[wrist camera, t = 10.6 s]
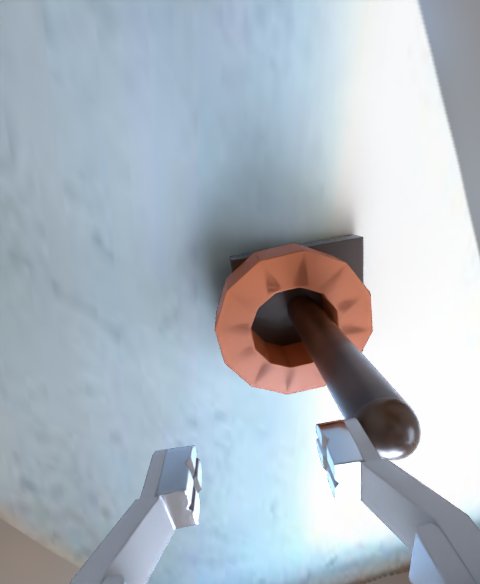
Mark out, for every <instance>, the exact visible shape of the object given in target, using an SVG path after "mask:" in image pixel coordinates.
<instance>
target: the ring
mask: <svg viewBox="0 0 480 584" xmlns="http://www.w3.org/2000/svg"><path fill="white" fill-rule="evenodd" d="M299 287H301V288H304V289H308V290H311V291H315V292H318V293H320V294H321V295H322V303H323V311H324V312H325V313H326V314H327V315H328V316H329V317H330V318H331V319H332V321H333V322H334V323H335V324H336V325H337V326H338V327H339V328H340V329H341V331H342V332H343V333H344V334H345V335H346V336H347V337H348V338H349V339H350V341H351V342H352V343H353V344H354V345H355V346H356V347H357V348H358V349H359V351H360V352H362V350H363V348H364V346H365V344H366V342H367V341H368V339H369V337H370V335H371V333H372V311H371V294H370V292H369V290H368V289H367V288H366V287H365V285H364V284H363V283H362V282H361V280H360V279H359V278H358V276H357V275H356V274H355V273H354V271H353V270H352V269H351V268H350V266H349V265H348V264H347V263H346V262H344V261H342V260H340V259H338V258H336V257H334V256H332V255H330V254H328V253H325V252H321V251H318V250H315V249H312V248H309V247H305V246H302V245H299V244H296V243H290V244H286V245H282V246H278V247H273V248H269V249H265V250H261V251H257V252H254V253H253V254H252V255H251V256H250V257H249V258H248V259H247V260H245V261H244V262H243V263H242V264H241V265H240V266H239V267H238V268H237V269H236V270H235V271H234V272H232V273H231V274H230V275H229V276H228V277H227V279H226V281H225V284H224V288H223V291H222V294H221V298H220V301H219V304H218V308H217V312H216V321H215V332H216V336H217V339H218V342H219V346H220V349H221V352H222V356H223V359H224V362H225V364H226V365H227V366H228V367H229V368H231V369H232V370H233V371H234V372H235V373H236V374H238V375H239V376H240V377H241V378H242V379H243V380H245V381H246V382H247V383H248V384H249V385H250V386H252V387H256V388H260V389H265V390H269V391H274V392H279V393H283V394H291V393H296V392H301V391H305V390H310V389H314V388H319V387H323V386H325V385H326V383H325V381H324V380H323V378H322V376H321V374H320V372H319V371H318V369H317V367H316V365H315V363H314V361H313V360H312V358H311V356H310V354H309V352H308V350H307V349H306V347H305V345H304V343H303V341H301V342H298V343H293V344H289V345H284V346H280V345H276V344H272V343H268V342H264V341H263V340H262V339H261V338H260V337H259V336H258V335H257V334H256V333H255V332H254V331H253V330H252V329H251V327H252V324H253V321H254V318H255V315H256V313H257V310H258V308H259V307H260V306H261V305H263V304H264V303H265V302H266V301H267V300H268V299H270V298H271V297H272V296H273V295H274V294H275V293H278V292H282V291H286V290H290V289H295V288H299Z"/></svg>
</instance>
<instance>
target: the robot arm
mask: <svg viewBox="0 0 480 584" xmlns="http://www.w3.org/2000/svg"><path fill="white" fill-rule="evenodd" d="M316 433H317V435H318V439H317V447H318V452H319V456H320V459H321V462H322V465H323V468H324V469H325V470H326V471H328V482H329V484H330V487H331V489H332V492H333V495H334V497H335V500H336V501H343V500H350V499H358V498H361V501H362V502H363V503H364V504H365V505H366V506H367V507H368V508H369V509H370V510H371V511H372V512H373V513H374V514H375V515H376V516H377V517H378V518H379V519H380V520H381V521H382V522H383V523H384V524H385V525H386V526H387V527H388V528H389V529H390V530H391V531H392V532H393V533H394V534H395V535H396V536H397V537H398V538H399V539H400V540H401V541H402V542H403V543H404V544H405V545H406V546H407V547H408V548H409V549H410V550H411V551H412V552H413V553H412V560H411V566H410V572H409V579H410V581H411V584H480V530H479V529H478V527H477V526H476V525H475V523H474V522H473V521H472V520H471V518H470V517H469V516H468V515H467V514H466V513H464V512H463V511H461V510H460V509H458V508H457V507H455V506H454V505H453V504H451V503H450V502H448V501H447V500H445V499H444V498H442V497H441V496H440V495H438V494H437V493H435V492H434V491H432V490H431V489H429V488H428V487H427V486H425V485H424V484H422V483H421V482H419V481H418V480H417V479H415V478H414V477H412V476H411V475H409V474H408V473H406V472H405V471H404V470H402V469H401V468H399V467H398V466H396V465H395V464H393V463H392V462H391V461H389V460H388V459H386V458H383V459H381V457H380V455H379V454H378V452H377V451H376V449H375V447H374V446H373V444H372V442H371V441H370V439H369V438H368V436H367V434H366V433H365V431H364V429H363V428H362V426H361V425H360V423H359V421H358V420H357V419H356V418H350V419H344V420H337V421H331V422H326V423H320V424H316ZM196 456H197V450H196V447H195V445H193V446H185V447H178V448H171V449H164V450H158V451H155V452H154V454H153V455H152V459H151V462H150V465H149V469H148V472H147V476H146V479H145V483H144V486H143V490H142V493H141V497H140V499H137V500H135V501H134V503H133V504H132V505H131V506H130V508H129V509H128V510H127V511H126V513H125V514H124V515H123V516H122V518H121V519H120V520H119V521H118V523H117V524H116V525H115V526H114V528H113V529H112V530H111V531H110V533H109V534H108V535H107V536H106V538H105V539H104V540H103V541H102V543H101V544H100V545H99V546H98V548H97V549H96V550H95V551H94V553H93V554H92V555H91V556H90V558H89V559H88V560H87V561H86V563H85V564H84V565H83V566H82V568H81V569H80V570H79V572H78V573H77V574H76V575H75V576H74V578H73V579H72V580H71V582H70V584H147V582H148V580H149V578H150V576H151V574H152V572H153V570H154V569H155V567H156V565H157V563H158V561H159V559H160V557H161V555H162V554H163V552H164V550H165V548H166V546H167V544H168V542H169V540H170V538H171V537H172V535H173V533H174V529H178V528H183V527H188V526H193V525H198V523H199V511H200V500H199V497H198V493H199V491H200V490H201V488H202V468H201V463H200V460H199V459H198V458H197V457H196Z"/></svg>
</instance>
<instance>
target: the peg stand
mask: <svg viewBox="0 0 480 584" xmlns="http://www.w3.org/2000/svg"><path fill="white" fill-rule="evenodd" d="M299 245H302V246H305V247H309V248H312V249H315V250H318V251H321V252H325V253H328V254H330V255H332V256H334V257H336V258H338V259H340V260H342V261H344V262H346V263H347V264H348V265H349V266H350V268H351V269H352V270H353V271H354V273H355V274H356V275H357V276H358V278H359V279H360V280H361V282H362V283H363V237H361V236H357V235H348V236H343V237H337V238H331V239H326V240H320V241H315V242H309V243H303V244H299ZM253 253H254V252H253ZM253 253H247V254H242V255H236V256H231V257H230V262H231V267H232V272H234V271H235V270H236V269H237V268H238V267H239V266H240V265H241V264H242V263H243V262H244V261H245V260H247V259H248V258H249V257H250V256H251V255H252V254H253ZM251 329H252V330H253V331H254V332H255V333H256V334H257V335H258V336H259V337H260V338H261V339H262V340H263V341H264V342H268V343H272V344H276V345H280V346H284V345H289V344H293V343H298V342H301V341H303V343H304V345H305V347H306V349H307V350H308V352H309V354H310V356H311V358H312V360H313V361H314V363H315V365H316V367H317V369H318V371H319V372H320V374H321V376H322V378H323V380H324V381H325V383H326V385H327V387H328V389H329V391H330V392H331V394H332V396H333V398H334V400H335V402H336V403H337V405H338V407H339V409H340V411H341V413H342V414H343V416H344V418H345V419H350V418H356V419H357V420H358V421H359V423H360V425H361V426H362V428H363V429H364V431H365V433H366V434H367V436H368V438H369V439H370V441H371V442H372V444H373V446H374V447H375V449H376V451H377V452H378V454H379V455H380V457H381V458H386V459H388V460H397V459H402V458H405V457H407V456H409V455H410V454H411V453H413V451H414V450H415V449H416V448H417V446H418V443H419V440H420V425H419V422H418V419H417V417H416V415H415V413H414V411H413V410H412V409H411V407H410V406H409V405H408V404H407V403H406V402H405V400H404V399H403V398H402V397H401V396H400V395H399V394H398V393H397V392H396V390H395V389H394V388H393V387H392V386H391V385H390V384H389V383H388V382H387V380H386V379H385V378H384V377H383V376H382V375H381V374H380V373H379V372H378V371H377V369H376V368H375V367H374V366H373V365H372V364H371V363H370V362H369V361H368V359H367V358H366V357H365V356H364V355H363V354H362V353H361V352H360V351H359V349H358V348H357V347H356V346H355V345H354V344H353V343H352V342H351V341H350V339H349V338H348V337H347V336H346V335H345V334H344V333H343V332H342V331H341V329H340V328H339V327H338V326H337V325H336V324H335V323H334V322H333V321H332V319H331V318H330V317H329V316H328V315H327V314H326V313H325V312H324V311H323V303H322V295H321V294H320V293H318V292H315V291H311V290H308V289H304V288H301V287H299V288H295V289H290V290H286V291H282V292H278V293H275V294H274V295H273V296H272V297H271V298H270V299H268V300H267V301H266V302H265V303H264V304H263V305H261V306H260V307H259V308H258V310H257V313H256V315H255V318H254V321H253V324H252V327H251ZM362 351H363V350H362Z"/></svg>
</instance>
